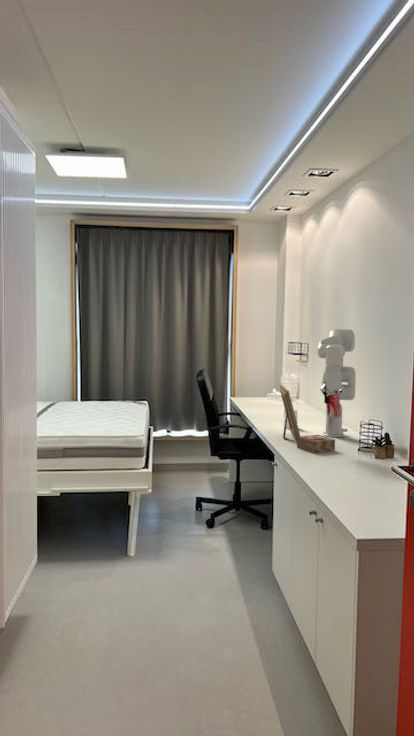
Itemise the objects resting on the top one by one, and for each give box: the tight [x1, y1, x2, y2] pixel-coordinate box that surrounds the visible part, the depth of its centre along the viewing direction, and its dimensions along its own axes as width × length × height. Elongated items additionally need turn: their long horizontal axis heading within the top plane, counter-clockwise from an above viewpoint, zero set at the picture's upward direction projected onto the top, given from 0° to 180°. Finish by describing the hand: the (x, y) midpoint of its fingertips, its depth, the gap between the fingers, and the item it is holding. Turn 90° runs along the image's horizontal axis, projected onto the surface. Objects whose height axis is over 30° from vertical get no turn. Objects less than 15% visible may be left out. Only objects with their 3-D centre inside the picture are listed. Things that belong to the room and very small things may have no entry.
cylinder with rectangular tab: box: [282, 408, 298, 430], centre depth 344 cm, size 9×9×12 cm
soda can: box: [325, 392, 341, 419], centre depth 280 cm, size 7×7×13 cm
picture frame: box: [279, 384, 301, 441], centre depth 309 cm, size 33×10×30 cm, turn 179°
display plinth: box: [296, 434, 336, 454], centre depth 283 cm, size 14×14×6 cm
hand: (331, 402), depth 280 cm, fingers closed on soda can, 5 cm apart
